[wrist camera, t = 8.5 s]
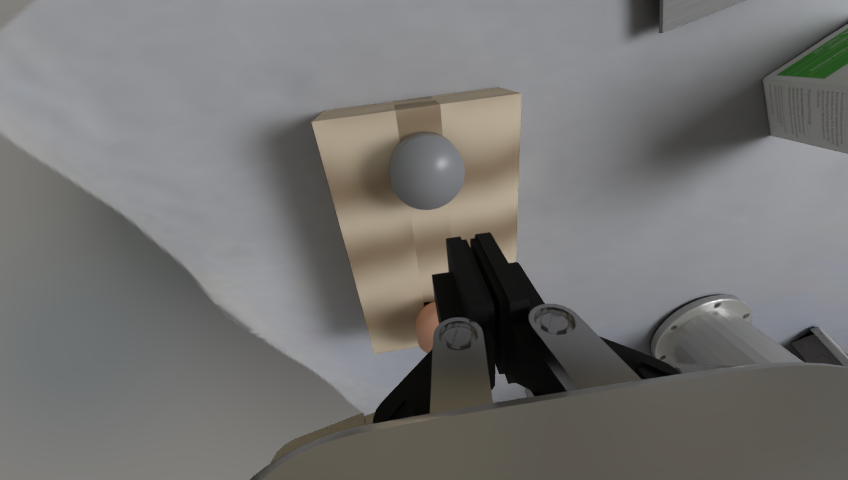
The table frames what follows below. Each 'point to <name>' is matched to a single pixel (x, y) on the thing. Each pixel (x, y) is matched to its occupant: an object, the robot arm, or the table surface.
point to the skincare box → (812, 95)
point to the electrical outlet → (688, 11)
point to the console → (408, 227)
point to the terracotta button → (426, 326)
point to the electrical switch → (820, 349)
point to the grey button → (426, 170)
